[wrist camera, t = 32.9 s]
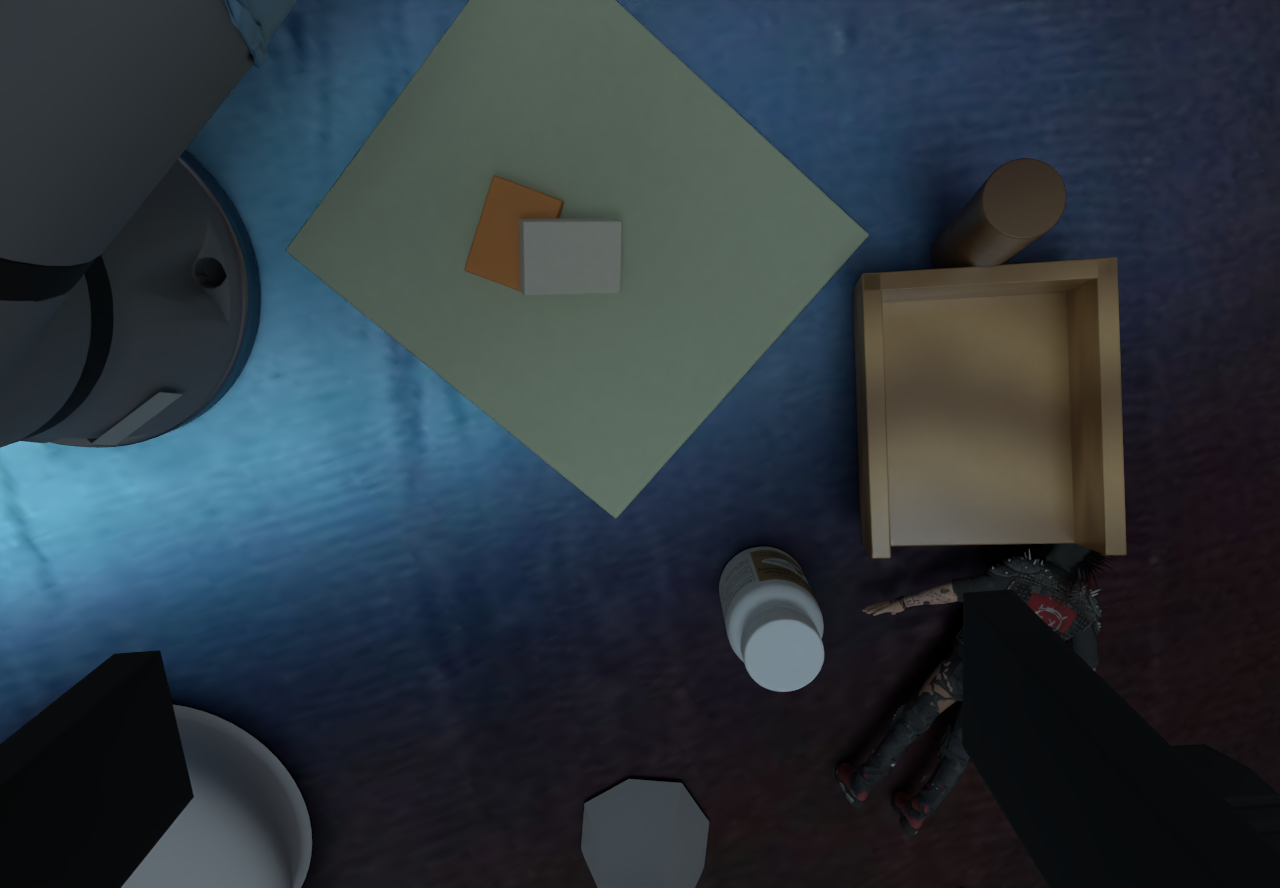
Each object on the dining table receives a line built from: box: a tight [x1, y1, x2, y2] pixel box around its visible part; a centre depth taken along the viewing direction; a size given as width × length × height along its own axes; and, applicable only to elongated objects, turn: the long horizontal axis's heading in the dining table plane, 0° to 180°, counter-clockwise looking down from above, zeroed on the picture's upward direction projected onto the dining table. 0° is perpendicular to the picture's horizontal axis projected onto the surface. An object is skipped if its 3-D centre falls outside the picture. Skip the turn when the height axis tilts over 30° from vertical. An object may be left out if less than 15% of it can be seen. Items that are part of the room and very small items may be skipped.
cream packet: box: [518, 218, 622, 296], centre depth 39 cm, size 4×3×1 cm
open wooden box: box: [853, 158, 1126, 559], centre depth 35 cm, size 15×10×10 cm
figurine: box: [835, 505, 1135, 836], centre depth 42 cm, size 13×6×20 cm
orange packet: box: [465, 175, 564, 291], centre depth 39 cm, size 4×3×1 cm
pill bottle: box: [719, 547, 824, 692], centre depth 41 cm, size 4×4×8 cm
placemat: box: [286, 0, 869, 518], centre depth 40 cm, size 20×18×1 cm
